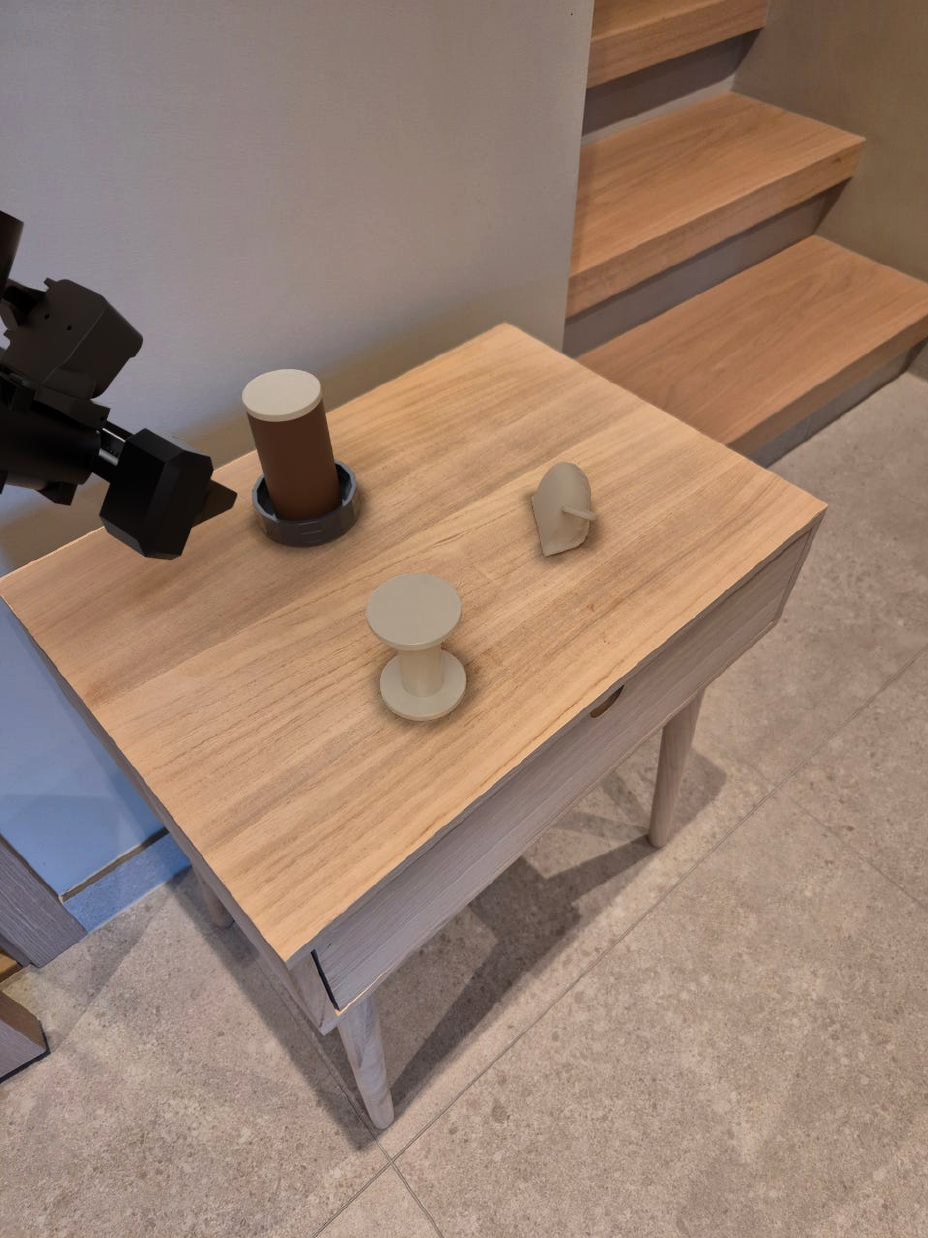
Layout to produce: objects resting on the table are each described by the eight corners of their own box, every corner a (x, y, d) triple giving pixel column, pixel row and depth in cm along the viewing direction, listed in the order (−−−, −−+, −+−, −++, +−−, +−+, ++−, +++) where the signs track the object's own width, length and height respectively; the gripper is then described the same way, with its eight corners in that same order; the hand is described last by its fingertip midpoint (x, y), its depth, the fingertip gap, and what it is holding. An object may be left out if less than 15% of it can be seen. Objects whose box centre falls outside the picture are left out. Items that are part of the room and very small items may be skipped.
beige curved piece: (580, 493, 69) (585, 440, 65) (598, 567, 63) (605, 514, 59) (531, 497, 69) (532, 444, 65) (544, 571, 63) (547, 518, 59)
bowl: (316, 561, 65) (311, 538, 63) (238, 524, 68) (230, 500, 66) (380, 499, 69) (376, 476, 67) (303, 467, 72) (298, 443, 70)
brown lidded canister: (338, 531, 66) (314, 414, 58) (267, 531, 66) (233, 415, 58) (347, 484, 70) (326, 368, 61) (280, 484, 70) (250, 368, 62)
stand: (435, 735, 54) (426, 659, 48) (363, 697, 56) (346, 619, 50) (482, 673, 57) (480, 594, 51) (413, 639, 59) (402, 559, 53)
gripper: (122, 319, 37) (334, 407, 51) (-95, 214, 45) (140, 315, 59) (42, 549, 39) (267, 574, 53) (-152, 411, 47) (88, 464, 61)
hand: (187, 473), depth 56 cm, fingers open, 9 cm apart
